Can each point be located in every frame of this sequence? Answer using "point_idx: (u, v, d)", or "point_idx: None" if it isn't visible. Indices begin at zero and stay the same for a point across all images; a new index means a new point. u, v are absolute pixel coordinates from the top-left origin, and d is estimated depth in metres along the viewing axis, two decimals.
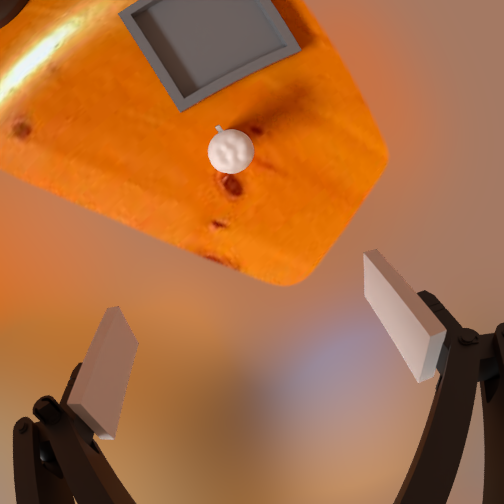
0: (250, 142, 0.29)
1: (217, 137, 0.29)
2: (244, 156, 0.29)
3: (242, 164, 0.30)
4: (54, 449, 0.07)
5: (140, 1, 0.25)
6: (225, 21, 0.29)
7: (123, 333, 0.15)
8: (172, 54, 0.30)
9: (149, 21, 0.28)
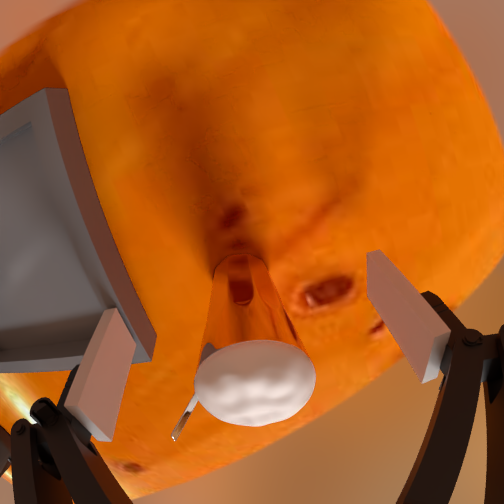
0: (247, 356, 0.09)
1: (208, 409, 0.11)
2: (280, 387, 0.09)
3: (301, 387, 0.10)
4: (52, 451, 0.07)
5: None
6: None
7: (121, 335, 0.15)
8: (51, 327, 0.17)
9: (4, 336, 0.18)
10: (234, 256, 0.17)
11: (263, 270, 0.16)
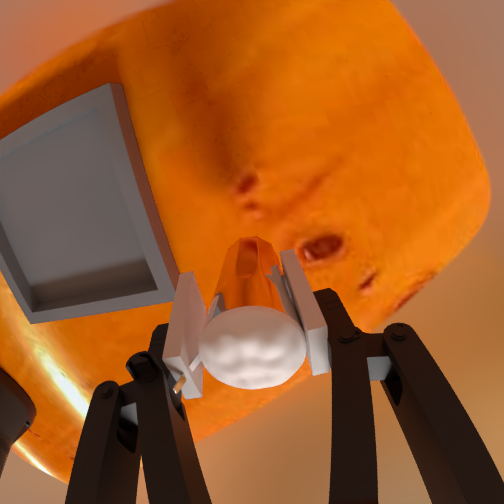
0: (243, 319, 0.11)
1: (209, 370, 0.12)
2: (271, 349, 0.11)
3: (291, 352, 0.12)
4: (137, 408, 0.09)
5: (16, 297, 0.22)
6: (52, 193, 0.20)
7: (197, 297, 0.17)
8: (92, 276, 0.23)
9: (45, 289, 0.23)
10: (245, 239, 0.19)
11: (270, 252, 0.18)
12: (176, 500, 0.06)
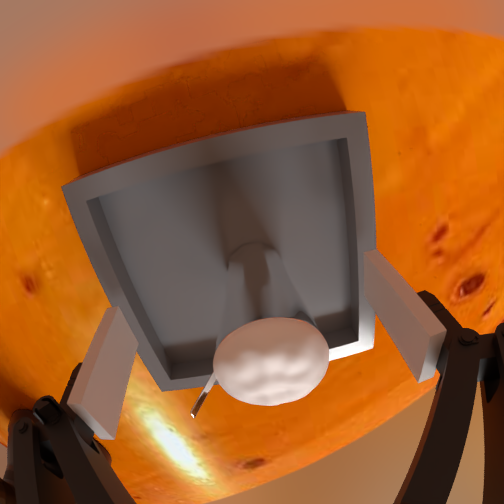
0: (266, 333, 0.10)
1: (226, 388, 0.11)
2: (297, 362, 0.10)
3: (316, 364, 0.11)
4: (54, 449, 0.07)
5: (148, 365, 0.20)
6: (236, 235, 0.18)
7: (123, 333, 0.15)
8: None
9: (189, 349, 0.21)
10: (248, 245, 0.18)
11: (277, 258, 0.17)
12: None
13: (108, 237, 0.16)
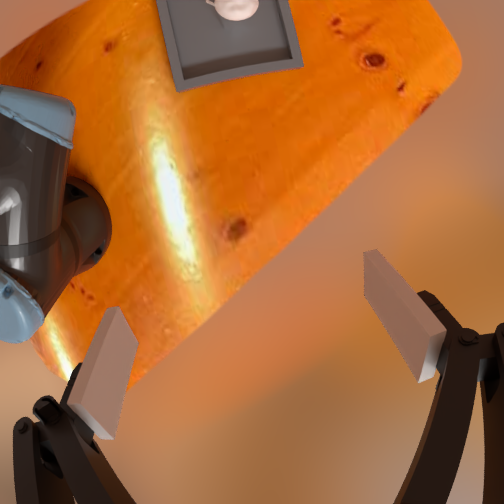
0: None
1: (218, 7, 0.24)
2: None
3: None
4: (54, 449, 0.07)
5: (173, 69, 0.32)
6: None
7: (123, 333, 0.15)
8: (242, 57, 0.33)
9: (197, 68, 0.34)
10: None
11: None
12: None
13: (168, 8, 0.29)
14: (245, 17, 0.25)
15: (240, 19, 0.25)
